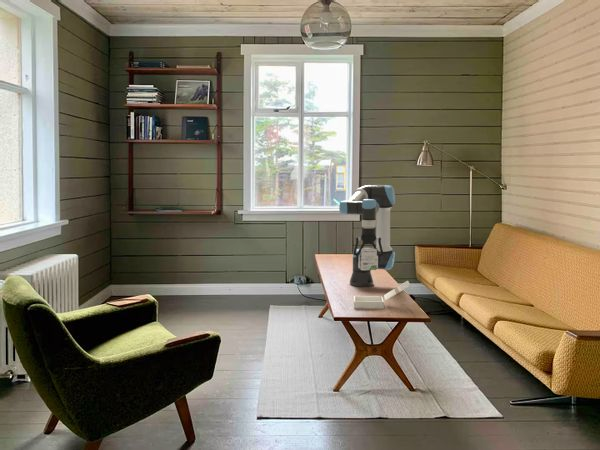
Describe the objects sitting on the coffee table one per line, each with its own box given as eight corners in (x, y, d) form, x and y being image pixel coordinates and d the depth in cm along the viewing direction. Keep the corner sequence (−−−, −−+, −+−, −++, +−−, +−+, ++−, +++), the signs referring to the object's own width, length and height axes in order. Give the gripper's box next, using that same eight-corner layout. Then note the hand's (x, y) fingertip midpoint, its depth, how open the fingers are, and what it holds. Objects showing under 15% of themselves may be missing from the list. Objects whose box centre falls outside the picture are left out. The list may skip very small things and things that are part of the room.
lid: (407, 280, 351) (408, 280, 351) (383, 295, 353) (384, 295, 353) (410, 285, 339) (410, 285, 339) (385, 300, 341) (385, 301, 341)
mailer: (353, 302, 355) (353, 295, 355) (382, 303, 354) (382, 296, 354) (354, 308, 343) (354, 301, 342) (383, 308, 342) (383, 301, 341)
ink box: (374, 268, 349) (374, 247, 348) (376, 270, 344) (377, 249, 343) (359, 268, 347) (359, 247, 346) (361, 270, 343) (362, 249, 341)
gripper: (348, 228, 340) (348, 268, 343) (389, 228, 339) (388, 269, 341) (348, 226, 347) (348, 266, 350) (388, 226, 346) (387, 266, 349)
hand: (368, 267), depth 346 cm, fingers closed on ink box, 9 cm apart
